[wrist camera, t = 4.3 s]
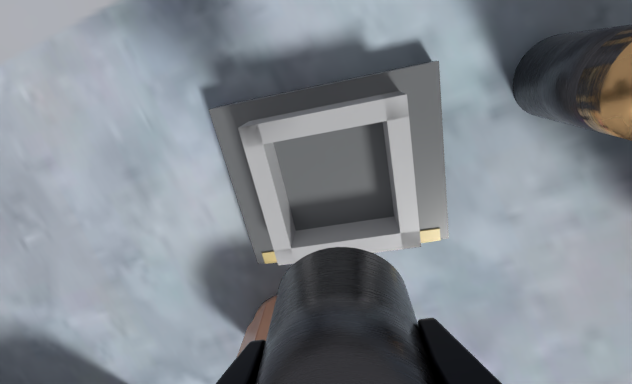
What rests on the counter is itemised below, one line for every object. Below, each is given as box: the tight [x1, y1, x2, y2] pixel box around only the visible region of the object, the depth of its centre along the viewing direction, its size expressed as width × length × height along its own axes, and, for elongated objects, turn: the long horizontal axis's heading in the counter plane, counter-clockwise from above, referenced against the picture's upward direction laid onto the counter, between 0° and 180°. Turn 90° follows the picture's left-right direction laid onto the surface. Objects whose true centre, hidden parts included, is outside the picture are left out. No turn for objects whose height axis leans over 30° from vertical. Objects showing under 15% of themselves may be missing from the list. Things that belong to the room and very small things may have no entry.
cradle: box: [209, 61, 449, 266], centre depth 17 cm, size 12×10×3 cm
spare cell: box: [513, 25, 632, 141], centre depth 13 cm, size 4×4×7 cm
